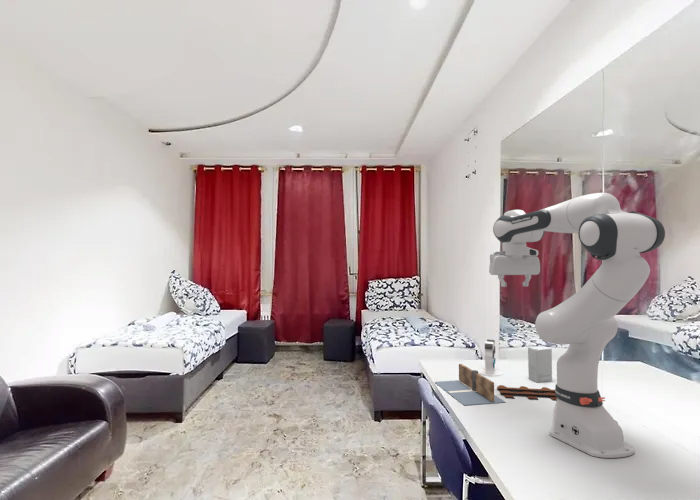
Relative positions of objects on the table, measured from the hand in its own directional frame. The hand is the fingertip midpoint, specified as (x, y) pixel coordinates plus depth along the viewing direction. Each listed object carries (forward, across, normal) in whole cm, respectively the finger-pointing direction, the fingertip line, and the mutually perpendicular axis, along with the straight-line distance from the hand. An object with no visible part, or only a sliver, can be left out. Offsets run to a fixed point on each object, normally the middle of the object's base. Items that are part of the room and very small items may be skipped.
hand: (514, 286), depth 153 cm
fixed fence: (+43, -11, +17) cm, 48 cm away
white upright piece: (+44, +9, +34) cm, 56 cm away
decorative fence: (+45, +9, +5) cm, 46 cm away
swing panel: (+43, -11, +4) cm, 45 cm away
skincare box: (+44, +25, +19) cm, 54 cm away
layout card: (+44, -15, +11) cm, 48 cm away
